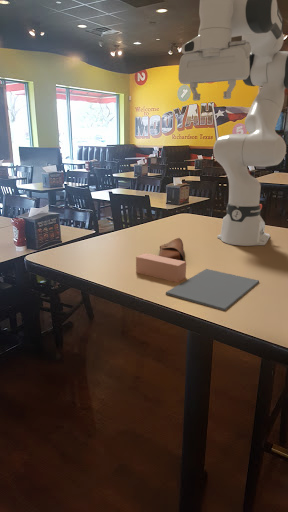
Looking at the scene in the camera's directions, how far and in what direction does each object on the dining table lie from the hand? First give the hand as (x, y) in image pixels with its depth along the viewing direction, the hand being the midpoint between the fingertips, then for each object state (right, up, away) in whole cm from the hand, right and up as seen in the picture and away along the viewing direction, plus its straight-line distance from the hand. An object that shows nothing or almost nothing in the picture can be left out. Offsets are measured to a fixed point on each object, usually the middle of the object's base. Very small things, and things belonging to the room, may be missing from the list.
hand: (211, 99), depth 106 cm
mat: (0, -52, -7) cm, 53 cm away
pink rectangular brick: (-14, -50, +3) cm, 52 cm away
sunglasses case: (-12, -45, +19) cm, 50 cm away
